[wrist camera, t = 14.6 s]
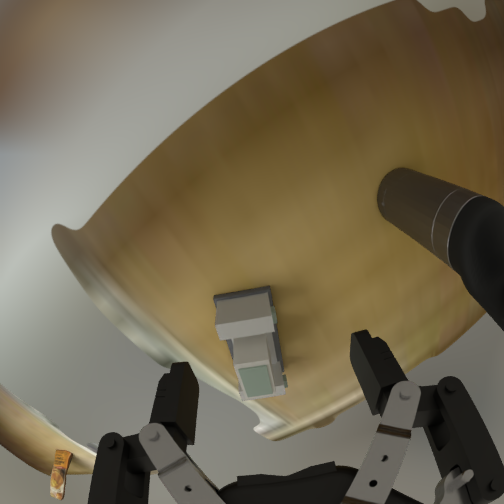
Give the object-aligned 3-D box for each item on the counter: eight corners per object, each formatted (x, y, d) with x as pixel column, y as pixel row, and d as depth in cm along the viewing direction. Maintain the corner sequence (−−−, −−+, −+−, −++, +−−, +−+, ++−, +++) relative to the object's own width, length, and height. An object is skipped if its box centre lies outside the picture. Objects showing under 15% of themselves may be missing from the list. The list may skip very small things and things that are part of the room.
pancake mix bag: (80, 457, 78) (67, 503, 53) (62, 456, 81) (50, 496, 56) (68, 450, 76) (54, 496, 50) (52, 449, 79) (39, 490, 53)
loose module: (263, 320, 44) (269, 360, 36) (270, 357, 48) (276, 396, 40) (233, 325, 45) (233, 366, 36) (244, 361, 48) (246, 401, 40)
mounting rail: (270, 285, 43) (275, 311, 37) (284, 368, 52) (289, 395, 45) (213, 295, 44) (210, 322, 37) (239, 375, 52) (240, 402, 45)
